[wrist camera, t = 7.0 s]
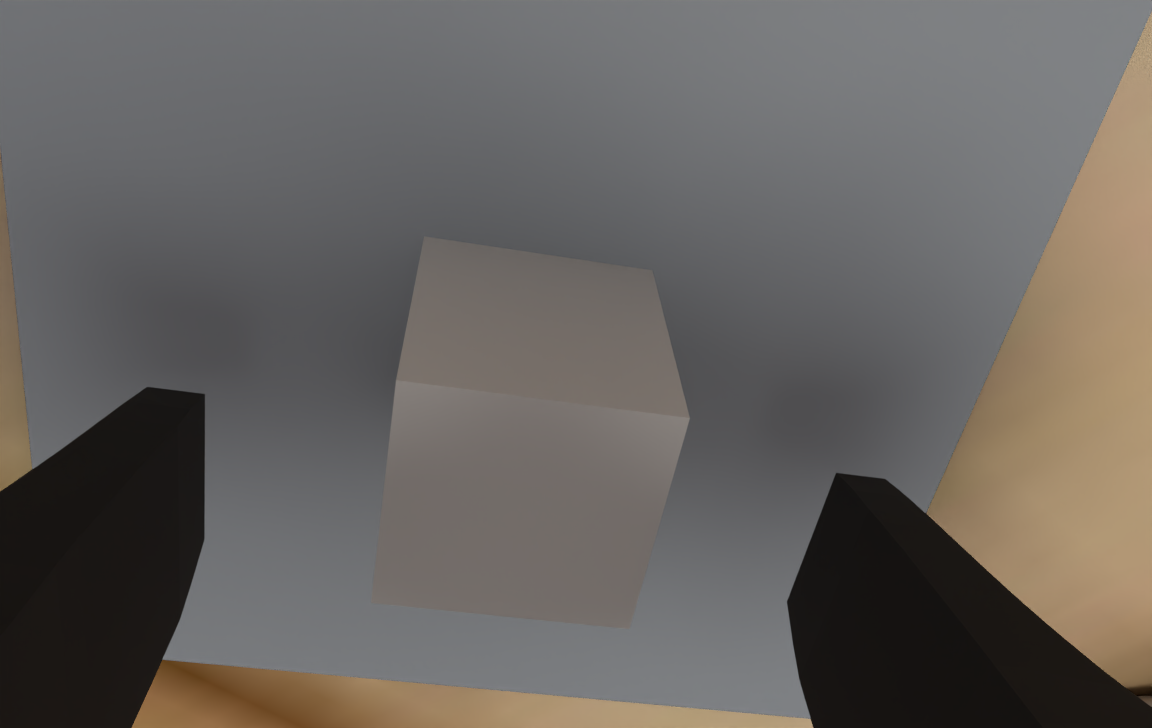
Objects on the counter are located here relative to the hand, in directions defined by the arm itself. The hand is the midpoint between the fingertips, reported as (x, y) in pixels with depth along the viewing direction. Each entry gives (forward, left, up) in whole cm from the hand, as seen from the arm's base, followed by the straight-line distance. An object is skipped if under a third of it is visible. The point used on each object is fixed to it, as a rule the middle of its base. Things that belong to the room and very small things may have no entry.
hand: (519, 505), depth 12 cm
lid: (0, 0, -4) cm, 4 cm away
